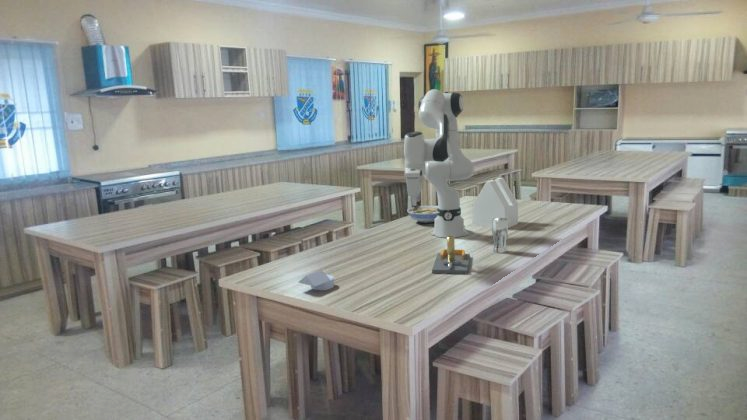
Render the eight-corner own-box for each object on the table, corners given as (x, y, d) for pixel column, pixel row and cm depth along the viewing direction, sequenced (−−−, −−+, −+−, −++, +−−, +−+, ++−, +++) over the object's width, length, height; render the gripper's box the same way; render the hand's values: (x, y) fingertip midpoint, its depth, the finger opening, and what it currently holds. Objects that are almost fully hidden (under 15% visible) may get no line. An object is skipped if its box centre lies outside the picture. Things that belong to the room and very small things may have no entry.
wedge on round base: (315, 295, 201) (339, 285, 211) (314, 277, 200) (338, 268, 210) (298, 290, 207) (322, 281, 217) (297, 273, 205) (321, 265, 215)
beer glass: (496, 254, 243) (496, 221, 240) (489, 250, 249) (489, 218, 246) (510, 252, 245) (510, 219, 242) (503, 248, 251) (503, 216, 248)
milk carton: (517, 224, 299) (518, 178, 294) (504, 229, 287) (504, 182, 282) (486, 220, 311) (486, 176, 306) (472, 225, 299) (472, 180, 295)
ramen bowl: (445, 227, 299) (445, 212, 297) (404, 227, 303) (403, 212, 302) (448, 217, 323) (448, 203, 321) (410, 217, 327) (409, 204, 326)
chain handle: (444, 260, 230) (443, 235, 228) (458, 261, 229) (458, 235, 227) (441, 269, 219) (441, 242, 217) (457, 269, 218) (456, 242, 216)
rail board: (437, 256, 243) (437, 249, 243) (469, 257, 240) (469, 249, 239) (432, 273, 220) (431, 264, 220) (467, 274, 217) (467, 265, 217)
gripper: (411, 168, 240) (412, 199, 243) (403, 174, 221) (404, 207, 223) (425, 167, 239) (426, 199, 242) (419, 173, 219) (420, 207, 222)
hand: (416, 203), depth 232 cm, fingers open, 8 cm apart
